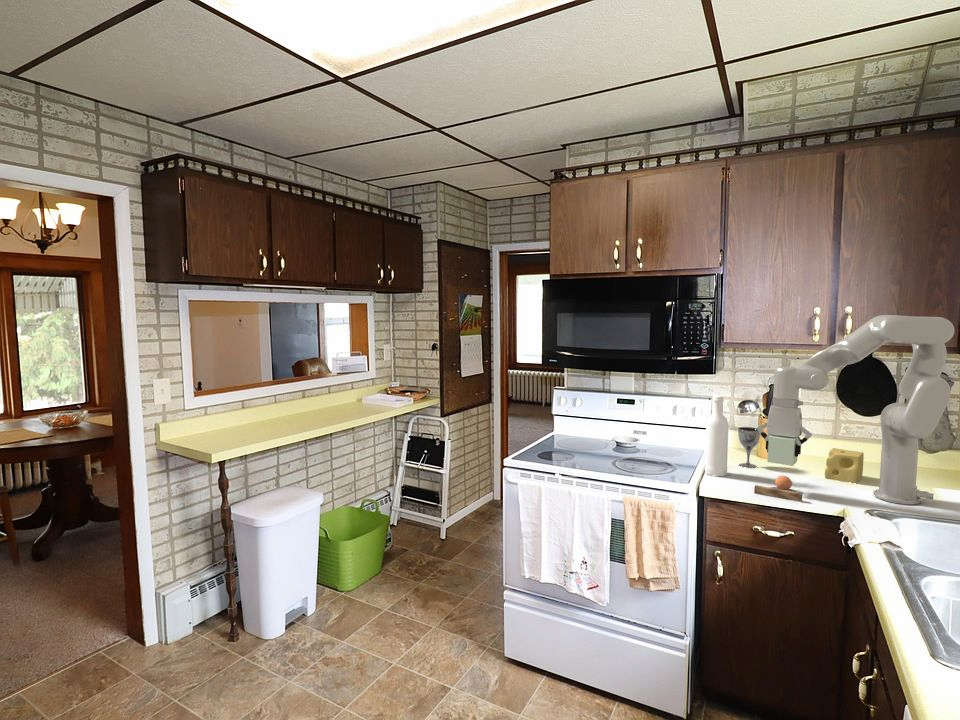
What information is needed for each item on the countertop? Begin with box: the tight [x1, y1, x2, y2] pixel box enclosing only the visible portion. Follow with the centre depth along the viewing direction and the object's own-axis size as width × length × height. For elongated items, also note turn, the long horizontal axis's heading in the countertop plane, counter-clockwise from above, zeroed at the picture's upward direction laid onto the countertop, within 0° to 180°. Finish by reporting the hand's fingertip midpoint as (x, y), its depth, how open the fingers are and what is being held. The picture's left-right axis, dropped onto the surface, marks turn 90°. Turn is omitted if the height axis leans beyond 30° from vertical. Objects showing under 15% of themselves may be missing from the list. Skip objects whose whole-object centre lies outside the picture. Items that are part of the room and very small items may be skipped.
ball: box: [774, 475, 793, 490], centre depth 191 cm, size 5×5×5 cm
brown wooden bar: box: [753, 484, 803, 503], centre depth 184 cm, size 14×2×2 cm, turn 51°
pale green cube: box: [767, 435, 799, 467], centre depth 188 cm, size 8×8×9 cm
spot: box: [768, 486, 797, 492], centre depth 189 cm, size 9×9×1 cm
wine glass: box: [737, 426, 761, 469], centre depth 220 cm, size 8×8×15 cm
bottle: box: [704, 394, 729, 477], centre depth 209 cm, size 8×8×30 cm
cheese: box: [824, 447, 865, 484], centre depth 203 cm, size 10×11×10 cm
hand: (782, 453), depth 188 cm, fingers closed on pale green cube, 7 cm apart
